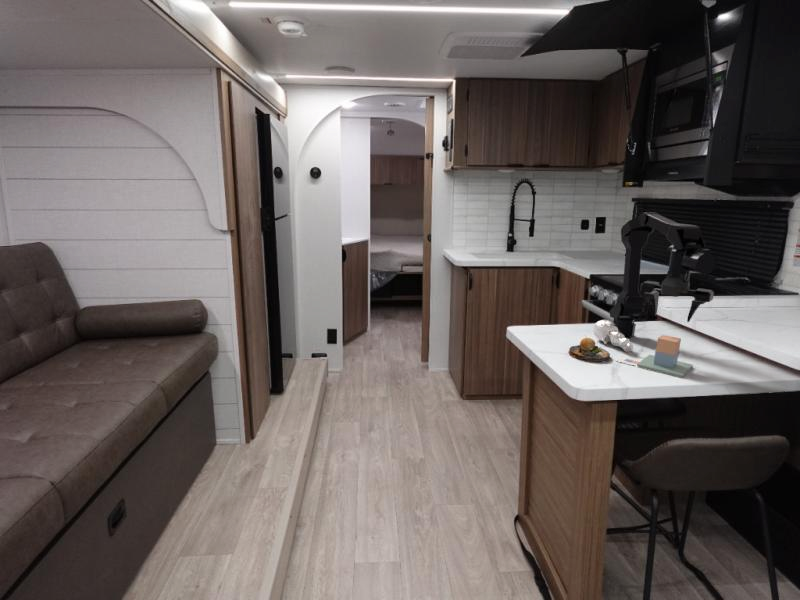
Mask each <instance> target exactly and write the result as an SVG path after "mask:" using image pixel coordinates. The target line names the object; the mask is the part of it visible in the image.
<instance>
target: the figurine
mask: <svg viewBox="0 0 800 600" xmlns="http://www.w3.org/2000/svg"><path fill="white" fill-rule="evenodd" d="M614 325H615V324H614V323H613V321H611V320H608V319H601V320H598V321H596V322H595V324H594V325H593V330H592V332H593V335H594V336H595V338H596V339H597V340H598V341H600V342H603V344H604V345H605V344H606V345H607V344H608V342H611V344H612V346H614V347H618V348H621V349H622V350H623V351H624V352H625V351H628V352H630V351H631V350H632V349H633V348H634V344H632V343H631V342H630V338H625V336H624V335H623V334H622V333H619V332H618V328H617V327H616V326H614Z"/></svg>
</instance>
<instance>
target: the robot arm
mask: <svg viewBox="0 0 800 600" xmlns="http://www.w3.org/2000/svg"><path fill="white" fill-rule="evenodd" d="M654 231H658V232H660V233H661V234H663V235H665V236H666V240H668V242H670V243H671V245H670V246H668V247H667V249H666V250H667V251H669V252H671V253H670V257H669V264H668V270H667V272H666V276H665V278H664V279H663V281H662V282H661V285H660V282H659V281H652V280H646V281H644V282H642V283H641V284H640V278H641V277H640V276H641V274H640V273H641V262H642V251H643V248H644V247H645V245H646V244H647V243H648V241H649V236H650V235H651V234H652V233H653V232H654ZM620 237H621V238H620V239H621V242H622V245H623V246H624V248H625V255H624V270H623V284H622V291H621V292H620V293H619V294H618V296H617V297H616V303H615V304H614V305H613V306H612V307H611V309H610V310H609V317H610V318H612V319H613V320H612V322H613V323H614V324H615V325H614V326H616V327H617V328H618V332H619V333H622V334H623V335H624V336H625V338H627V339H630V338H632V337H633V336H635V333H636V332H635V331H636V326H637V325H636V323H635V321H636V320H637V321H639V320H640V318H641V317H642V314H643V311H644V309H645V305H644V304H645V297H644V296H647V297H648V299H649V302H650V304H651V309H652V313H653V316H654V317H655V316H657V313H658V306H659V297H660V296H659V295H660V294H661V295H662V296H671V297H680V296H687V297H692V298H694V299H693V300H692V301H691V305H690V309H689V312H688V315H687V320H686V322H687V323H690V321H691V319H692V318H693V316H694V315H695V313H696V311H697V310H698V309H699V308H700V306H701V305H705V303H710V302H711V301H713V299H714V295H715V292H714V291H713V290H712V289H706V288H700V287H699V288H697V289H690V288H691V287H690V286H691V284H690V283H691V282H690V276H691V272H693V273H697V274H700V275H701V274H702V275H707V274H709V273H711V272H712V271H713V270H714V268H715V267H716V260H715V257H714V256H713V255H712V254H711V249H708V248H707V246H706V244H707V243H706V242H705V240H704V237H703V234H702V231H701V228H700V226H698V225H694V224H687V223H678V222H676V221H675V220H672V219H670V218H667V217H665V216H662V215H660V214H659V213H658V212H654V211H653V212H651V211H649V212H647V211H646V212H642V213H640V214H639V215H638V216H636V217H634V218H632V219H629V220H628V221H627V222H626V223H624V224H623V226H622V227H621V228H620ZM639 287H640V288H639ZM641 293H643V295H644V296H642V294H641Z"/></svg>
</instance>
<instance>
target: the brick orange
mask: <svg viewBox="0 0 800 600" xmlns="http://www.w3.org/2000/svg"><path fill="white" fill-rule="evenodd" d="M681 342H682V338H680V337H675V336H671V335H670V336H669V335H665V334H662V335H660V336H659V337H658V338H657V341H656V348H655V352H661V353H666V354H670V355H676V354H677V353H678V352H679V353H680V347H681V346H680V345H681Z"/></svg>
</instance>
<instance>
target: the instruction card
mask: <svg viewBox="0 0 800 600" xmlns="http://www.w3.org/2000/svg"><path fill="white" fill-rule="evenodd" d="M616 361H618V363H620V362H622V363H621V364H624V363H626V364H625V365H628V364H630V365H629V366H632V365H634V366H633V367H636V366H637V364H638V363H639V362H641V361H642V360H639V359H636V358H632V357H628V356H624V357H623V356H621V357H620V358H618V359H617V360H616ZM635 365H636V366H635ZM637 368H640V367H639V366H638V367H637ZM641 369H644V368H643V367H642V368H641Z"/></svg>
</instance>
